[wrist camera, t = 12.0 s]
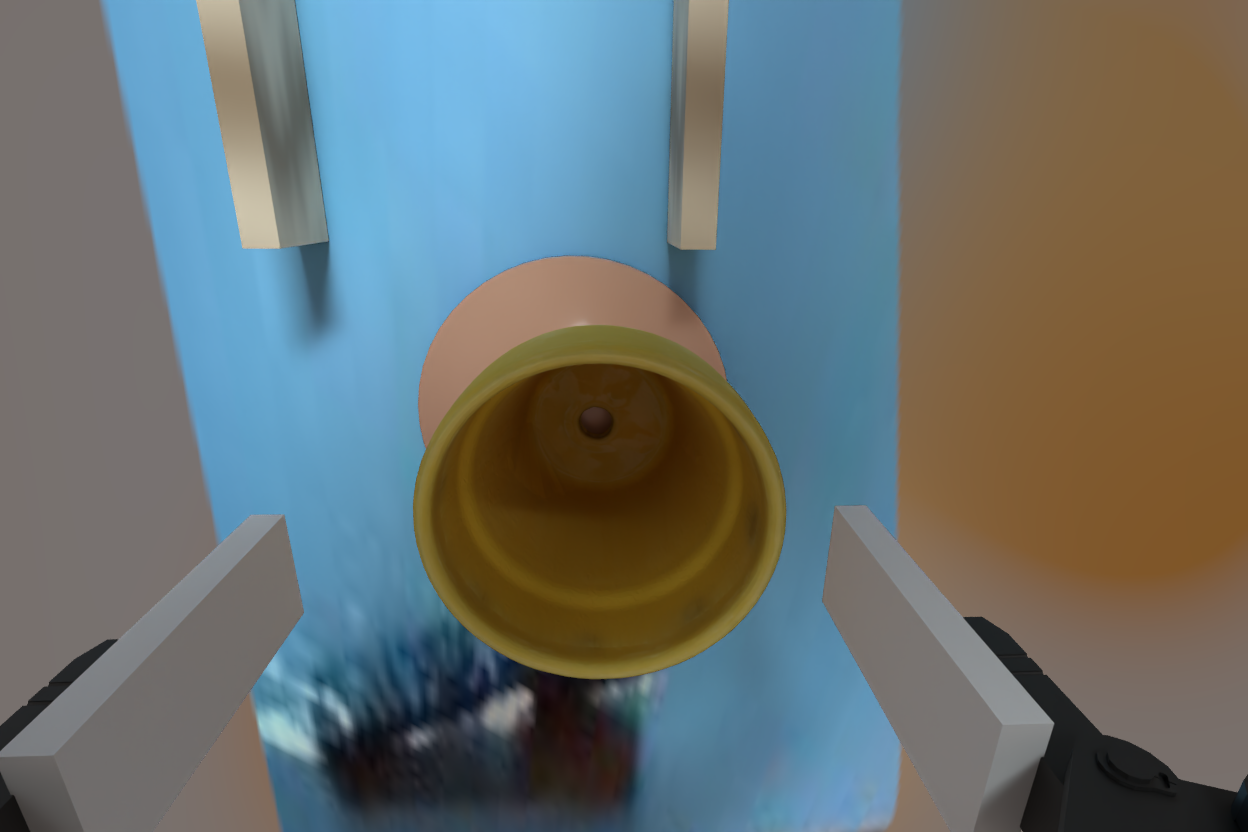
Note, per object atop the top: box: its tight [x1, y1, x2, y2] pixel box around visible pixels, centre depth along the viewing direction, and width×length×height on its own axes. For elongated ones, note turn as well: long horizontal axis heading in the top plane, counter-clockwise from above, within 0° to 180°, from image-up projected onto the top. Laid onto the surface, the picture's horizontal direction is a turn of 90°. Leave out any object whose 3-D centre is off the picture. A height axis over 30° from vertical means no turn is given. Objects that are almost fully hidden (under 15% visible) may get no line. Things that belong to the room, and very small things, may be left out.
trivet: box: [418, 255, 727, 448], centre depth 27 cm, size 13×13×1 cm
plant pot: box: [413, 325, 786, 679], centre depth 22 cm, size 10×10×10 cm
